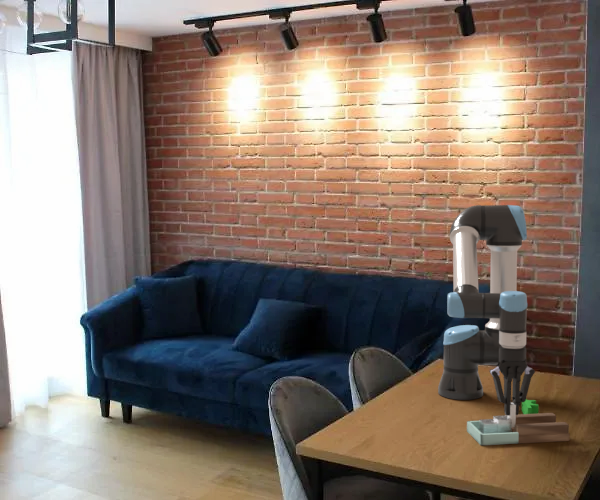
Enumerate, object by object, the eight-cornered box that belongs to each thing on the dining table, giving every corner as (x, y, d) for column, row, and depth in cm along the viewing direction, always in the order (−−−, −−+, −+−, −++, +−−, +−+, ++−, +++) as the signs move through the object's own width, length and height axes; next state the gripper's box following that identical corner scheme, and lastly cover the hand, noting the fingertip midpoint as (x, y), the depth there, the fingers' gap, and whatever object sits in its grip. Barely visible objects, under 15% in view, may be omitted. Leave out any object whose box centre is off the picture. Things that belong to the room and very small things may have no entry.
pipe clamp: (540, 422, 238) (540, 408, 237) (527, 422, 238) (527, 407, 238) (533, 411, 249) (533, 397, 248) (521, 410, 249) (521, 396, 249)
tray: (466, 431, 230) (466, 421, 230) (502, 429, 231) (502, 419, 231) (480, 445, 218) (480, 434, 218) (518, 443, 219) (518, 433, 219)
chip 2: (493, 429, 227) (493, 416, 226) (506, 428, 227) (506, 415, 227) (498, 434, 223) (498, 420, 222) (511, 433, 223) (511, 419, 223)
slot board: (502, 429, 231) (503, 414, 231) (551, 426, 233) (551, 412, 232) (518, 443, 219) (518, 427, 219) (569, 440, 221) (569, 425, 221)
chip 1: (479, 432, 227) (479, 419, 226) (492, 432, 227) (492, 419, 227) (484, 437, 223) (484, 424, 222) (497, 437, 223) (497, 423, 223)
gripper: (495, 349, 218) (494, 431, 221) (539, 347, 220) (538, 428, 222) (485, 343, 226) (484, 422, 228) (529, 341, 227) (527, 420, 229)
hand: (511, 425), depth 225 cm, fingers closed
